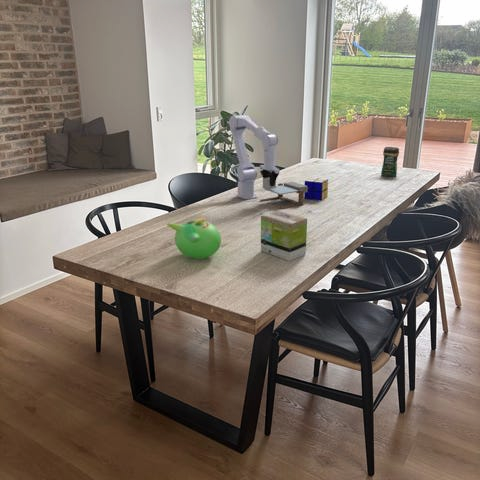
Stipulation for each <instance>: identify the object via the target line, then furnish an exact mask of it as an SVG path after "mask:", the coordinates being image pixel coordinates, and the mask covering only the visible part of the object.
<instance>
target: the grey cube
mask: <svg viewBox="0 0 480 480" xmlns="http://www.w3.org/2000/svg"><path fill="white" fill-rule="evenodd" d="M276 186H277V181H276V182H275V186H270V178H269V177H267V178H263V177H262V188H263V189H264V188H265V189H274V188H276ZM265 189H264V190H265Z"/></svg>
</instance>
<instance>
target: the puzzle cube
mask: <svg viewBox="0 0 480 480" xmlns="http://www.w3.org/2000/svg"><path fill="white" fill-rule="evenodd" d="M304 185H305V186H308V192H306V193H304V199H305V200H310V199H311V200H313V201H319V200H320V202H321V201H323V200H325V199H326V198H327V197H328V194H329V193H328V190H329V189H328V188H329V179H328V178H322V177H320V178H319V177H310V178H307V179H306V180H304Z"/></svg>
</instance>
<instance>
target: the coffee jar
mask: <svg viewBox="0 0 480 480" xmlns="http://www.w3.org/2000/svg"><path fill="white" fill-rule="evenodd" d="M382 155H383V161H382V168H381V171H380V172H381V173H380V175H381V176H383V177H391V178H393V177H397V175H398V158H399V155H400V148H399V147H396V146H395V147H394V146H385V147H384V149H383V152H382Z"/></svg>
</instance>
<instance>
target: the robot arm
mask: <svg viewBox="0 0 480 480" xmlns="http://www.w3.org/2000/svg"><path fill="white" fill-rule="evenodd" d="M228 126H229V129H230V132H231V137H232V140H233V145H234V148H235V151H236V154H237V159H238V163H239V166H237V169H236V171H237V172H236V173H237V176H236V177H237V179H238V182H237V195H236V197H239V198H240V199H244V200H250V199H256V198H258V196H257V195H255V182H256V180H257V178H258V171H257V169H256V168H255V167H256V166H255V165H254V164H253V163H252V162H250V159H249V155H248V151H247V148H246V144H245V140H244V136H243V133H244V132H245V131H246V129H248V130H250V131H252V133H253V135H254V136H255V138H257V139H258V140H259V141H261V144H262V149H263V164H260V165H259V169H260V174H261V177H262V179H263V178H267V177H269V178H270V186H275V182H276V183H277V178H278V177H279V175H280V168H278V167H276V146H277V144H278V143H279V139H278V136H277V134H275V133H270V131H268V130H266V129H265V127H264V126H258V125H257V124H256V123H255V122H253V120H251V116H249V115H248V114H240V115H231V116H230V117H229V120H228Z"/></svg>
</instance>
